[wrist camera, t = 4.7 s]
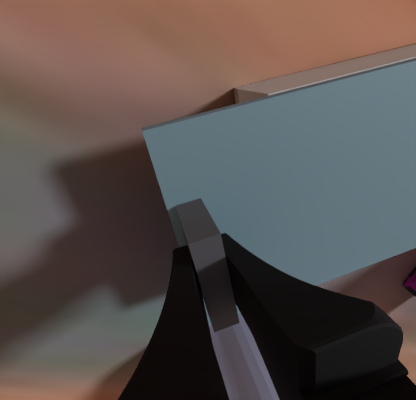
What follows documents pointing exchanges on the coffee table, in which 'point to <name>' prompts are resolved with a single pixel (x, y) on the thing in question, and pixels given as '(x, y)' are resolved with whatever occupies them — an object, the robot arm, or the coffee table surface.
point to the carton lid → (294, 180)
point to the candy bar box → (411, 283)
